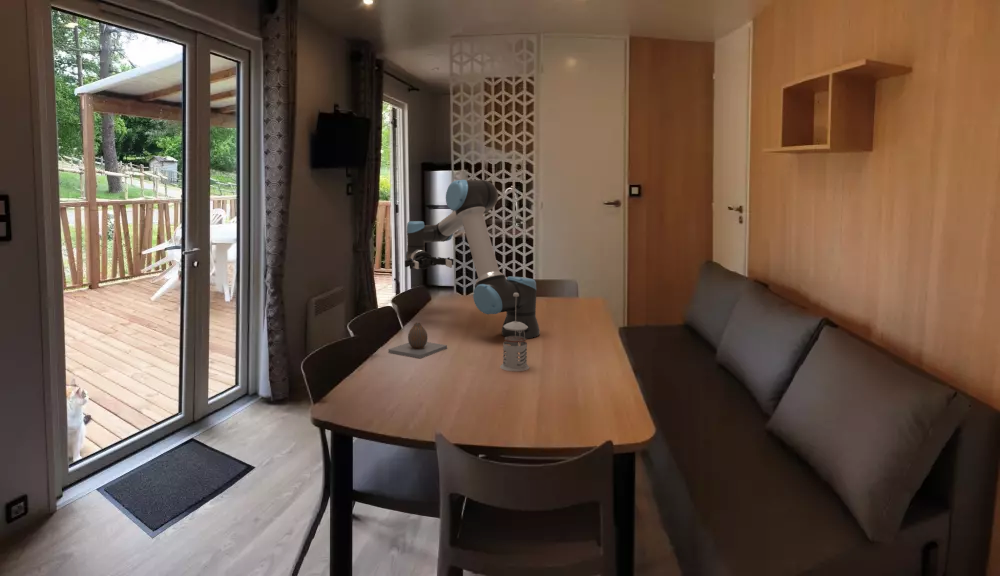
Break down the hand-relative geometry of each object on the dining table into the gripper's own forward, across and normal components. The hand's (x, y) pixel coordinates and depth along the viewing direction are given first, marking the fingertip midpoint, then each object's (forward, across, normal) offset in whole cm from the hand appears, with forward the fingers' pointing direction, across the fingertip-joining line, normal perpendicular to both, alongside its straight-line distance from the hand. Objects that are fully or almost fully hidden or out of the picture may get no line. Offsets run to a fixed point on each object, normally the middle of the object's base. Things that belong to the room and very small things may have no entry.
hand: (434, 264), depth 254 cm
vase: (+24, +13, -27) cm, 38 cm away
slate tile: (+24, +13, -28) cm, 39 cm away
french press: (+53, -13, -29) cm, 62 cm away
